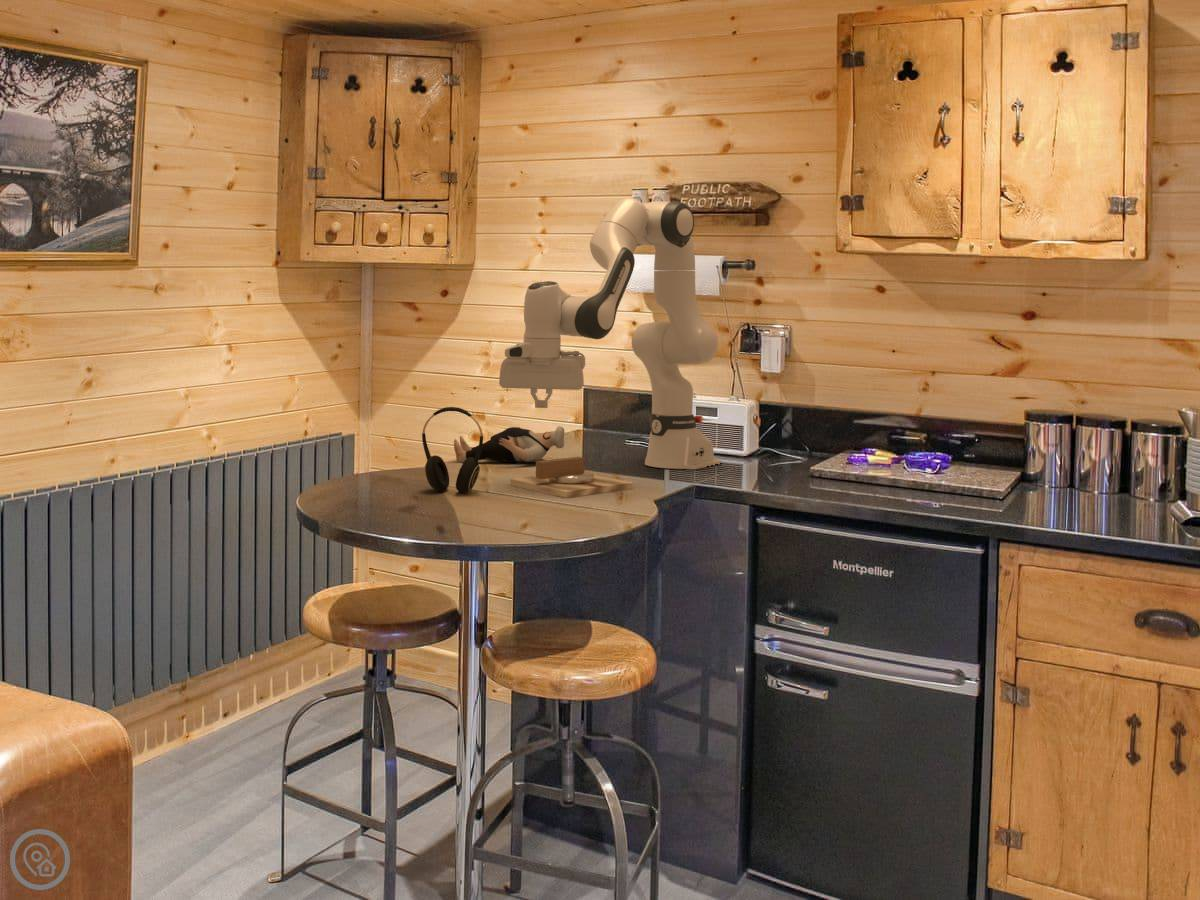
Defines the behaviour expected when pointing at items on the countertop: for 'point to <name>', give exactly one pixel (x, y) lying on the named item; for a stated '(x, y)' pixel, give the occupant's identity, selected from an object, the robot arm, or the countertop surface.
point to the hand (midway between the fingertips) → (541, 407)
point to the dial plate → (571, 486)
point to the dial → (564, 470)
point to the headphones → (438, 469)
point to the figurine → (513, 445)
